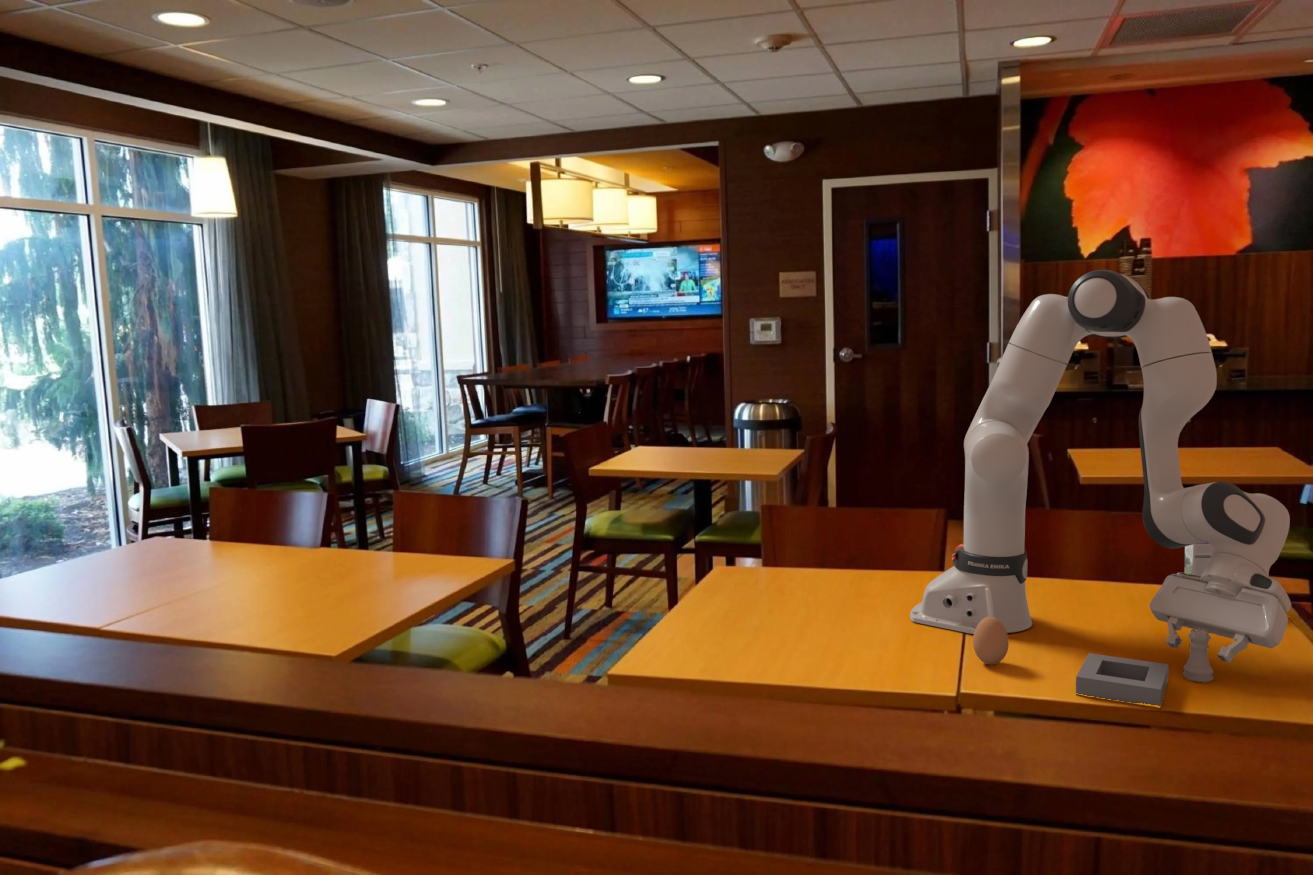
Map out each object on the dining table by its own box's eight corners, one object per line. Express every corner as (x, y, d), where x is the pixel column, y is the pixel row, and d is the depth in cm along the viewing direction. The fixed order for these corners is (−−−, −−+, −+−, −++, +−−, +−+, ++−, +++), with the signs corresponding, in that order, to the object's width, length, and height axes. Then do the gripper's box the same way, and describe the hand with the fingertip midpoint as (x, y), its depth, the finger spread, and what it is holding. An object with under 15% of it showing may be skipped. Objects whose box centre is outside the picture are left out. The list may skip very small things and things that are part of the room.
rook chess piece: (1184, 671, 171) (1186, 624, 170) (1215, 676, 169) (1217, 628, 168) (1180, 680, 168) (1182, 632, 166) (1211, 685, 165) (1213, 636, 164)
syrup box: (1223, 610, 202) (1226, 537, 200) (1190, 609, 203) (1193, 537, 201) (1213, 601, 208) (1216, 531, 206) (1181, 601, 209) (1184, 530, 207)
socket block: (1075, 694, 163) (1076, 676, 162) (1088, 670, 173) (1088, 653, 172) (1160, 708, 157) (1161, 689, 156) (1167, 682, 167) (1168, 664, 166)
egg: (977, 656, 181) (977, 610, 180) (1011, 661, 178) (1012, 614, 177) (969, 666, 176) (969, 619, 175) (1004, 672, 173) (1004, 623, 172)
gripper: (1163, 559, 178) (1129, 626, 174) (1290, 585, 161) (1255, 659, 157) (1177, 580, 181) (1143, 646, 177) (1302, 607, 164) (1268, 680, 160)
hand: (1197, 652), depth 167 cm, fingers open, 7 cm apart
